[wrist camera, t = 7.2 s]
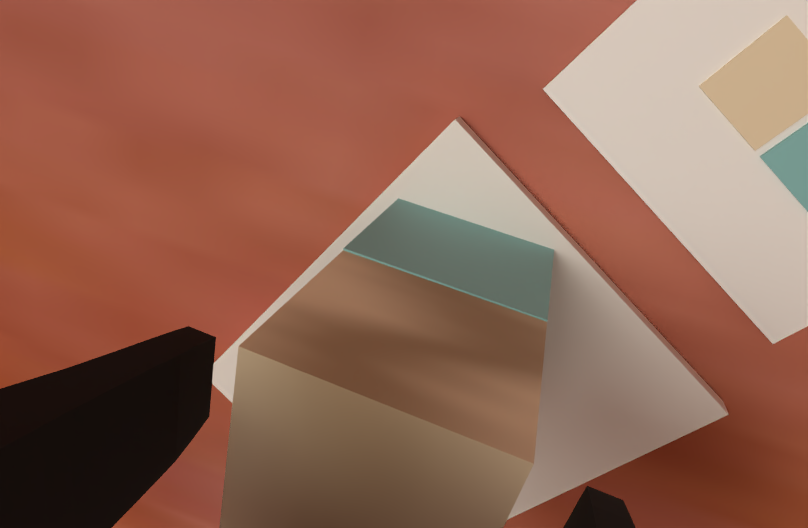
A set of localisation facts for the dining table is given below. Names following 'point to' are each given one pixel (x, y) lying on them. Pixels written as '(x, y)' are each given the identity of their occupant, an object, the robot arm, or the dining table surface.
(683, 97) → the tile
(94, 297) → the dining table surface
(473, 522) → the maple block
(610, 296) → the plate
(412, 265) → the teal block
